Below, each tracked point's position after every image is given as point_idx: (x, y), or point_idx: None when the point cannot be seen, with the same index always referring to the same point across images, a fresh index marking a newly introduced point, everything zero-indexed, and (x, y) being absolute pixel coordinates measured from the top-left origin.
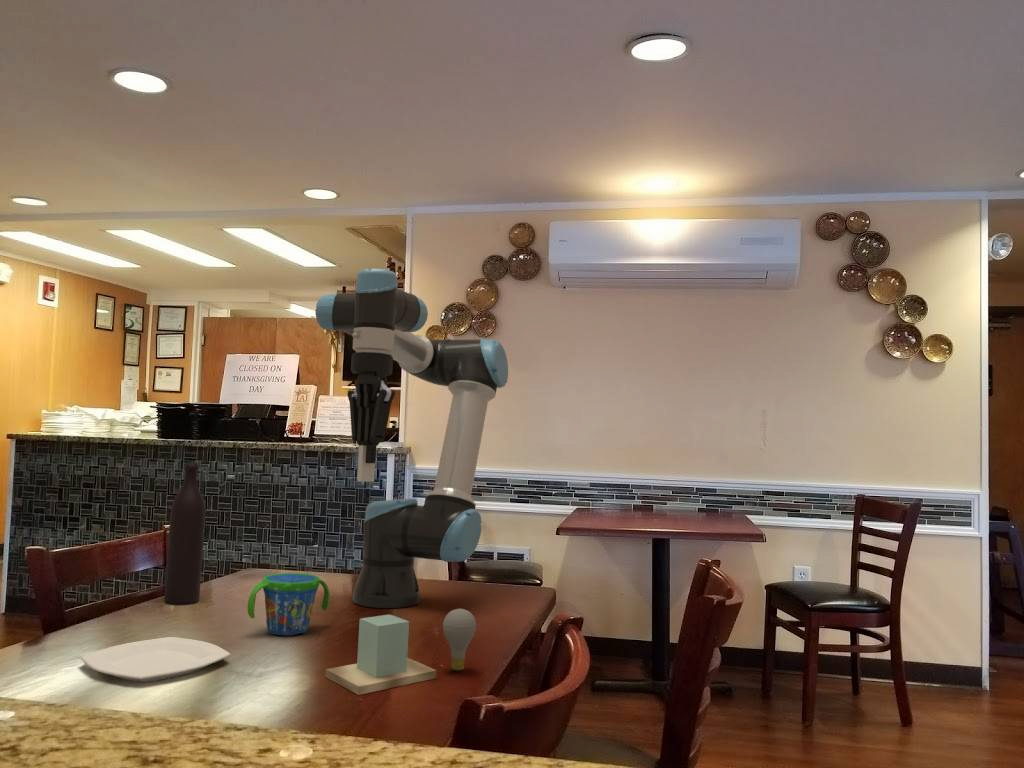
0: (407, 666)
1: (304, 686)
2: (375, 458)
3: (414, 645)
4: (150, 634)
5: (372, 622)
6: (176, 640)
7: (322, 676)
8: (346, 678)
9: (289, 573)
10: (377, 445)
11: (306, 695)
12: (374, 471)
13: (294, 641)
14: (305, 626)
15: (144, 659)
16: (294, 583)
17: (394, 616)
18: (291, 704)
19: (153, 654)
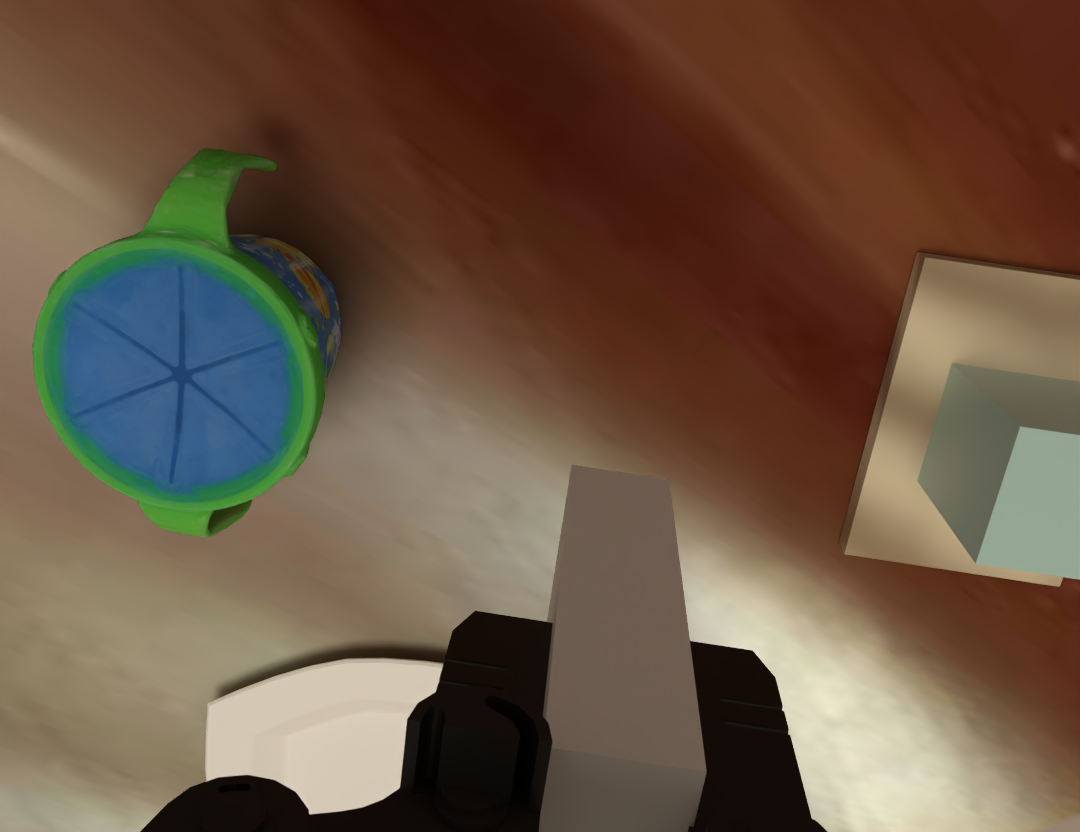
0: (1045, 340)
1: (859, 630)
2: (781, 703)
3: (782, 31)
4: (43, 667)
5: (1062, 565)
6: (262, 715)
7: (824, 542)
8: (970, 566)
9: (46, 315)
10: (783, 805)
11: (926, 668)
12: (672, 535)
13: (405, 374)
14: (333, 295)
15: (343, 809)
16: (303, 445)
17: (1065, 437)
18: (951, 730)
19: (309, 774)
